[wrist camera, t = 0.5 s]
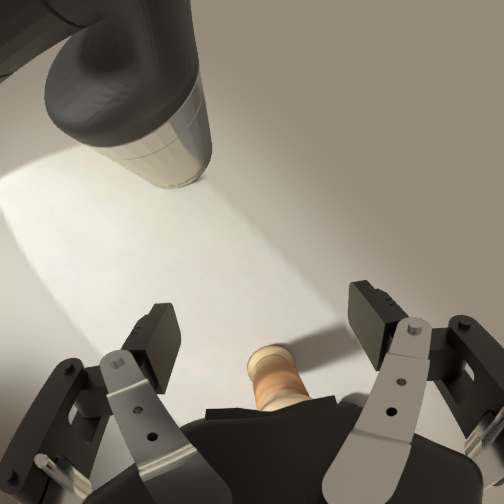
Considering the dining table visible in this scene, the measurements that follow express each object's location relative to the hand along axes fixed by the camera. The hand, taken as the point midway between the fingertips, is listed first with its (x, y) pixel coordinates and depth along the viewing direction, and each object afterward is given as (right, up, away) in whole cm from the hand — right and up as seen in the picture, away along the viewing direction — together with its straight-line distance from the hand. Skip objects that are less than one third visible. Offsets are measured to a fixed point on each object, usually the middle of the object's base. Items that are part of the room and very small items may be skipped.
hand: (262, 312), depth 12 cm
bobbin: (+2, -12, +21) cm, 24 cm away
